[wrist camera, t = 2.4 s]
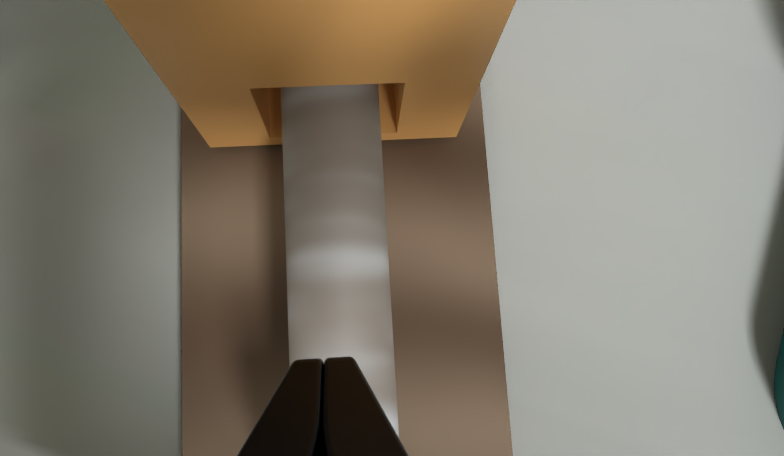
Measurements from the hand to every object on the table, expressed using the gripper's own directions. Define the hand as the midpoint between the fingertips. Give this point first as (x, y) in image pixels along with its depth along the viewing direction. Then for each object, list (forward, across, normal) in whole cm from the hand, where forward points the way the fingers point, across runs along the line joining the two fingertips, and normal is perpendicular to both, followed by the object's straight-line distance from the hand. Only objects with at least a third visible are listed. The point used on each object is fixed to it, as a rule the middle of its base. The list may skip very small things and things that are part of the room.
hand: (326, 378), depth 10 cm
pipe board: (+14, 0, +4) cm, 15 cm away
